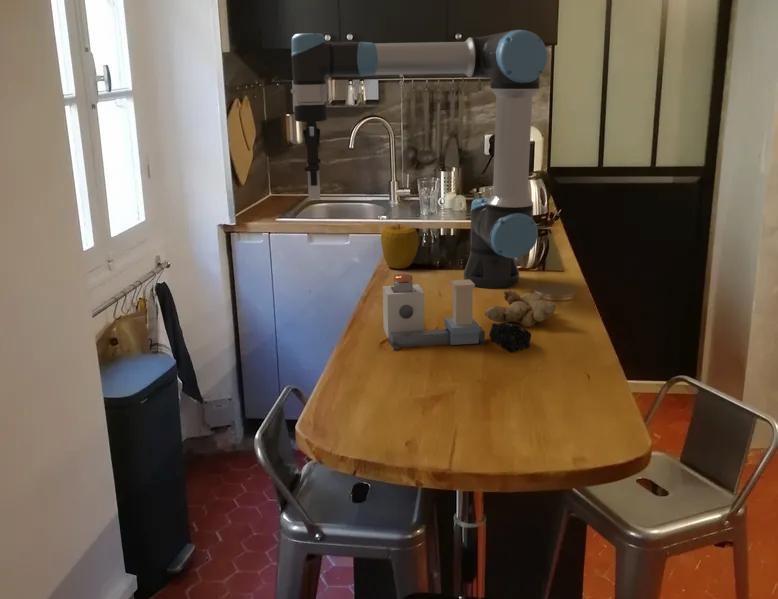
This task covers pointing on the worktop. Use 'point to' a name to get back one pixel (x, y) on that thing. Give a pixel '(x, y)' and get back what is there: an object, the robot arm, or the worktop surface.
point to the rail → (425, 338)
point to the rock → (510, 336)
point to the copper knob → (402, 283)
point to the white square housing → (403, 310)
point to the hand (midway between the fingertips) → (314, 195)
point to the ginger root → (522, 309)
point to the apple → (399, 245)
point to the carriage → (462, 314)
